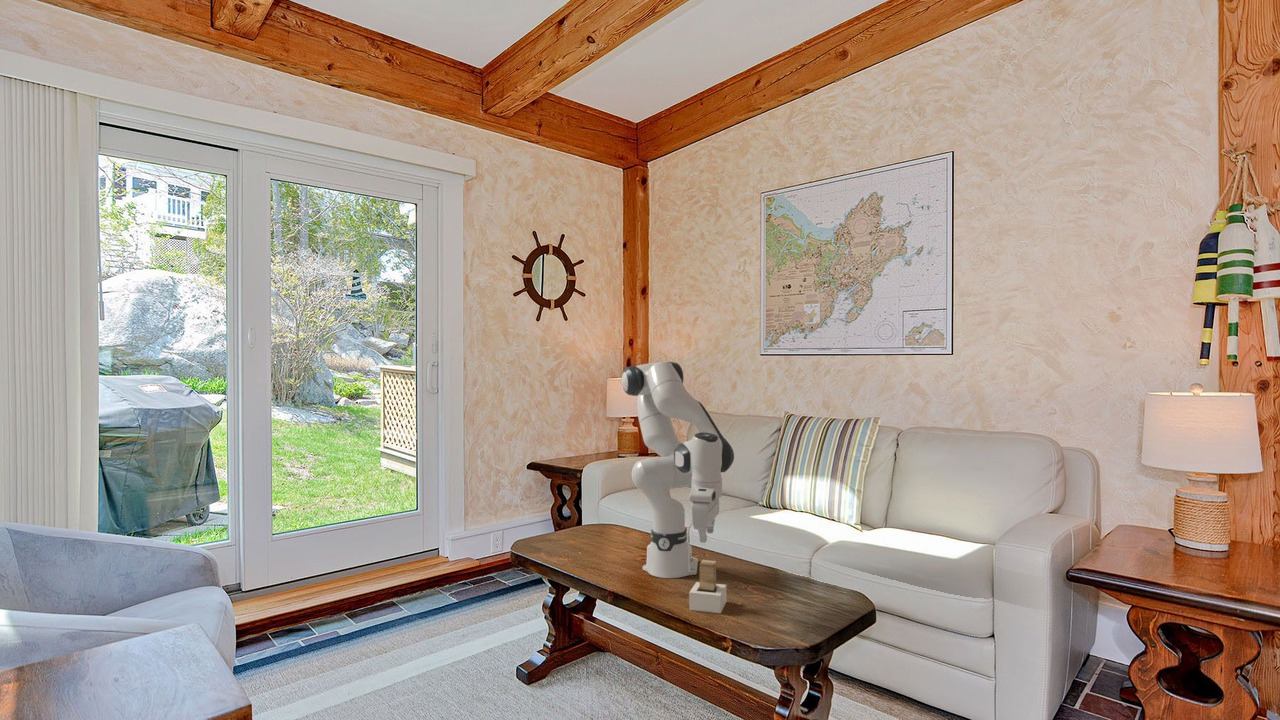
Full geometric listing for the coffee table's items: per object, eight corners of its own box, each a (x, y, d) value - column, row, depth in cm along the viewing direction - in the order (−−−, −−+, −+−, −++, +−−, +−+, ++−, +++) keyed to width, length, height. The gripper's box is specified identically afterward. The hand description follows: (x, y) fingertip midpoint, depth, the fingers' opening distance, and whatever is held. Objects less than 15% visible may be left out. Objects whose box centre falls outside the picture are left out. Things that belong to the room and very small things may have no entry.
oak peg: (702, 600, 187) (702, 559, 187) (716, 602, 186) (716, 561, 186) (699, 605, 183) (699, 564, 183) (713, 607, 182) (713, 565, 182)
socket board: (696, 598, 190) (696, 581, 190) (726, 601, 187) (726, 584, 187) (689, 609, 182) (689, 592, 182) (720, 613, 179) (720, 595, 179)
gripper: (703, 481, 195) (704, 526, 196) (687, 496, 176) (688, 546, 176) (724, 483, 193) (724, 528, 194) (710, 498, 174) (710, 548, 174)
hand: (706, 537), depth 185 cm, fingers open, 8 cm apart
